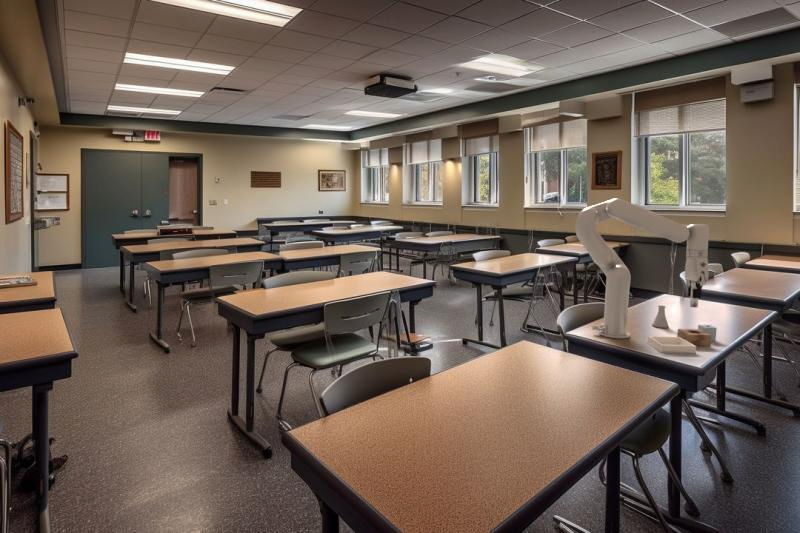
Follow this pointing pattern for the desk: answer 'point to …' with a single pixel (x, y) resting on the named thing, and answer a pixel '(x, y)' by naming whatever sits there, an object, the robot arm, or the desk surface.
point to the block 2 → (709, 330)
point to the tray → (671, 345)
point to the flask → (660, 318)
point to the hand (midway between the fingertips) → (694, 297)
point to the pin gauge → (693, 300)
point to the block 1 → (695, 337)
